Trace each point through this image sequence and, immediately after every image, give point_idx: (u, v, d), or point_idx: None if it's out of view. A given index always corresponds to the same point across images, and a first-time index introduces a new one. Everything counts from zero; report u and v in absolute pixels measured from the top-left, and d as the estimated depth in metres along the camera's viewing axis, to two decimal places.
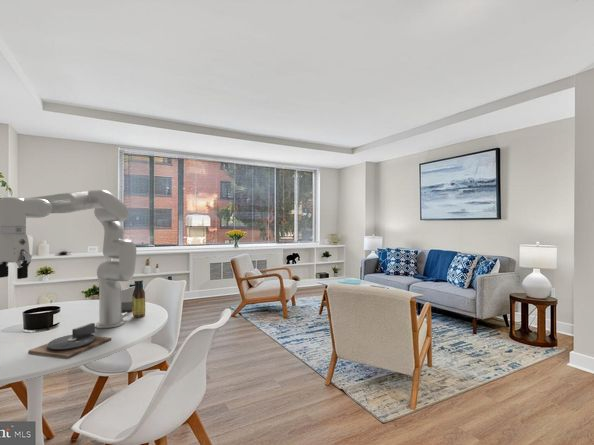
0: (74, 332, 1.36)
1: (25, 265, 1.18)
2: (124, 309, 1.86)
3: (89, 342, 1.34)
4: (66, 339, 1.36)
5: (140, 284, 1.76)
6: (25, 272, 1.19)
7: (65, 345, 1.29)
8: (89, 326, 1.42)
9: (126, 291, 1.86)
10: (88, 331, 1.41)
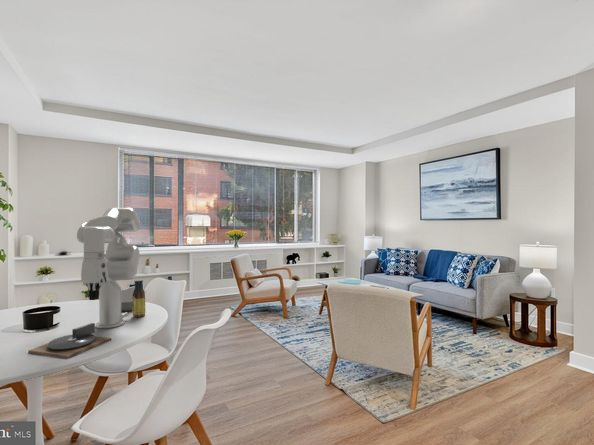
0: (74, 332, 1.36)
1: (97, 288, 1.38)
2: (124, 309, 1.86)
3: (89, 342, 1.34)
4: (66, 339, 1.36)
5: (140, 284, 1.76)
6: (97, 294, 1.39)
7: (65, 345, 1.29)
8: (89, 326, 1.42)
9: (126, 291, 1.86)
10: (88, 331, 1.41)
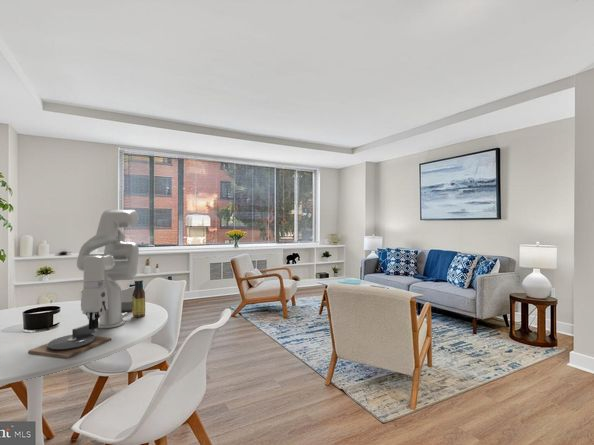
0: (74, 332, 1.36)
1: (97, 317, 1.37)
2: (124, 309, 1.86)
3: (89, 342, 1.34)
4: (66, 339, 1.36)
5: (140, 284, 1.76)
6: (97, 323, 1.38)
7: (65, 345, 1.29)
8: None
9: (126, 291, 1.86)
10: (88, 331, 1.41)
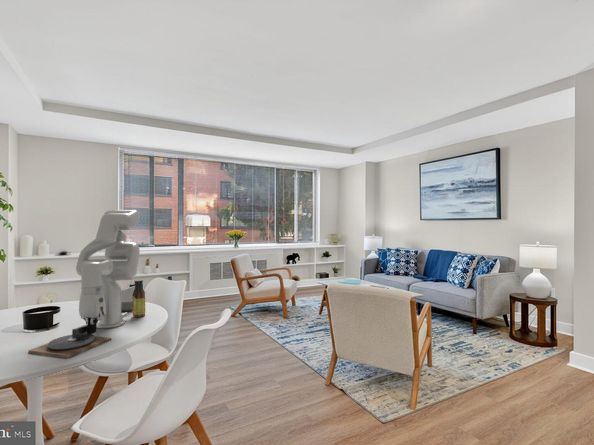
0: (74, 332, 1.36)
1: (95, 322, 1.40)
2: (124, 309, 1.86)
3: (90, 342, 1.34)
4: (66, 339, 1.35)
5: (140, 284, 1.76)
6: (95, 328, 1.41)
7: (65, 345, 1.29)
8: None
9: (126, 291, 1.86)
10: None
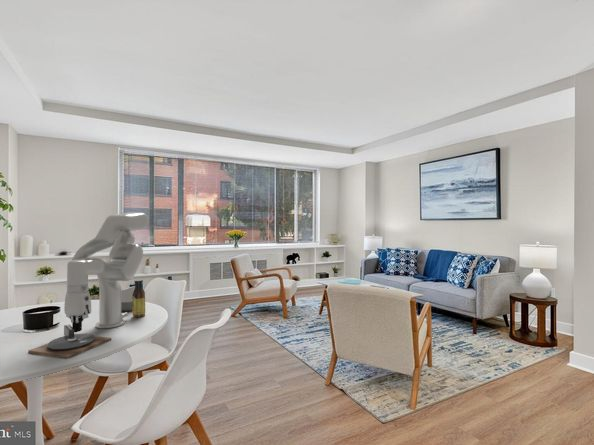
0: (71, 332, 1.36)
1: (81, 320, 1.41)
2: (124, 309, 1.86)
3: None
4: (63, 341, 1.33)
5: (140, 284, 1.76)
6: (80, 326, 1.41)
7: (83, 341, 1.33)
8: None
9: (126, 291, 1.86)
10: None
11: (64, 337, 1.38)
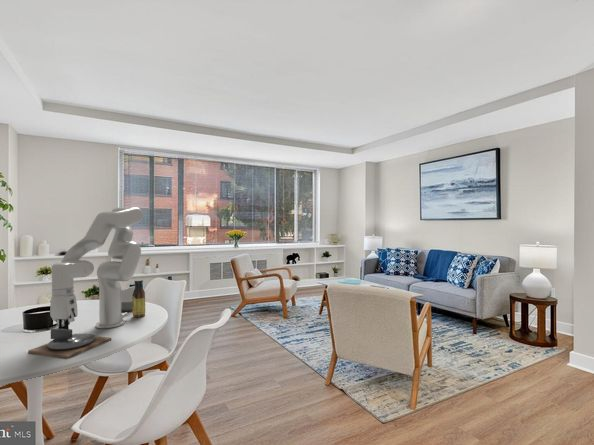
0: (70, 333, 1.35)
1: (67, 324, 1.38)
2: (124, 309, 1.86)
3: None
4: (65, 342, 1.32)
5: (140, 284, 1.76)
6: None
7: (89, 338, 1.36)
8: None
9: (126, 291, 1.86)
10: None
11: (57, 340, 1.35)
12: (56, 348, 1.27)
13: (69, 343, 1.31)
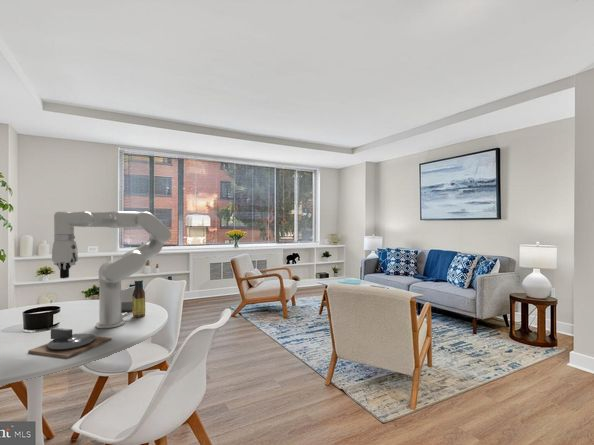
0: (70, 333, 1.35)
1: (68, 267, 1.51)
2: (124, 309, 1.86)
3: None
4: (65, 342, 1.32)
5: (140, 284, 1.76)
6: (67, 273, 1.51)
7: (89, 338, 1.36)
8: None
9: (126, 291, 1.86)
10: None
11: (57, 340, 1.35)
12: (56, 348, 1.27)
13: (69, 343, 1.31)
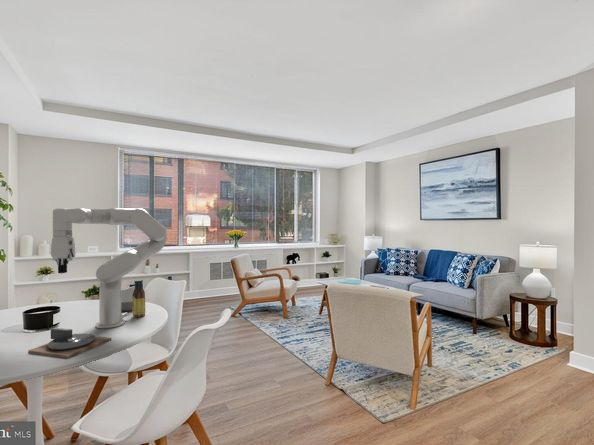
0: (70, 333, 1.35)
1: (65, 263, 1.55)
2: (124, 309, 1.86)
3: None
4: (65, 342, 1.32)
5: (140, 284, 1.76)
6: (65, 268, 1.55)
7: (89, 338, 1.36)
8: None
9: (126, 291, 1.86)
10: None
11: (57, 340, 1.35)
12: (56, 348, 1.27)
13: (69, 343, 1.31)
